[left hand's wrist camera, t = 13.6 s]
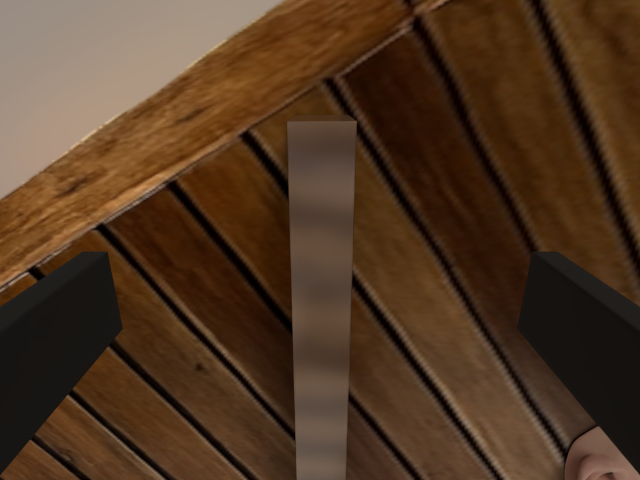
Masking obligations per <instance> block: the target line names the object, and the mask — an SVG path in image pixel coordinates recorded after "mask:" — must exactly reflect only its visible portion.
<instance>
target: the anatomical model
mask: <svg viewBox="0 0 640 480" xmlns="http://www.w3.org/2000/svg"><path fill="white" fill-rule="evenodd" d="M564 476H565V480H640V475H639V474H638V472H637V471H636V470H635V469H634V468H633V466H632V465H631V464H630V463H629V462H628V460H627V459H626V458H625V457H624V456H623V454H622V453H621V452H620V451H619V450H618V448H617V447H616V446H615V445H614V444H613V443H612V441H611V440H610V439H609V438H608V437H607V435H606V434H605V433H604V432H603V431H602V429H601V428H600V427H599V426H597V427H595V428H593V429H592V430H590V431H588V432H587V433H585V434H584V435H582V436H580V437H579V438H578V439H577V440H576V441H575V442H574V443H573V444H572V446H571V448H570V451H569V453H568V457H567V460H566V465H565V473H564Z"/></svg>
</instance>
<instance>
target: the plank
mask: <svg viewBox="0 0 640 480" xmlns="http://www.w3.org/2000/svg"><path fill="white" fill-rule="evenodd" d="M356 133H357V121H355V120H354V119H353V118H351V117H350V116H349V115H294V116H293V117H292V118H290V119H289V120H288V121H287V148H288V185H289V221H290V257H291V294H292V330H293V367H294V403H295V439H296V476H297V480H346V456H347V423H348V391H349V359H350V327H351V294H352V262H353V230H354V197H355V165H356Z"/></svg>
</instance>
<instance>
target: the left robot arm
mask: <svg viewBox="0 0 640 480" xmlns="http://www.w3.org/2000/svg"><path fill="white" fill-rule="evenodd" d="M122 329H123V328H122V323H121V318H120V313H119V308H118V303H117V298H116V293H115V288H114V283H113V277H112V272H111V267H110V262H109V257H108V252H82V253H80V254H79V255H77V256H76V257H74V258H73V259H71V260H70V261H68V262H67V263H65V264H64V265H62V266H61V267H59V268H58V269H56V270H55V271H53V272H52V273H50V274H49V275H47V276H46V277H44V278H43V279H41V280H40V281H38V282H37V283H35V284H34V285H32V286H31V287H29V288H28V289H26V290H25V291H23V292H22V293H20V294H19V295H17V296H16V297H14V298H13V299H11V300H10V301H8V302H7V303H5V304H4V305H2V306H1V307H0V475H1V474H2V472H3V471H4V470H5V469H6V468H7V466H8V465H9V464H10V463H11V462H12V460H13V459H14V458H15V457H16V456H17V454H18V453H19V452H20V451H21V450H22V448H23V447H24V446H25V445H26V444H27V443H28V441H29V440H30V439H31V438H32V437H33V435H34V434H35V433H36V432H37V431H38V429H39V428H40V427H41V426H42V425H43V423H44V422H45V421H46V420H47V419H48V417H49V416H50V415H51V414H52V413H53V411H54V410H55V409H56V408H57V407H58V405H59V404H60V403H61V402H62V401H63V399H64V398H65V397H66V396H67V395H68V393H69V392H70V391H71V390H72V389H73V388H74V386H75V385H76V384H77V383H78V382H79V380H80V379H81V378H82V377H83V376H84V374H85V373H86V372H87V371H88V370H89V368H90V367H91V366H92V365H93V364H94V362H95V361H96V360H97V359H98V358H99V356H100V355H101V354H102V353H103V352H104V350H105V349H106V348H107V347H108V346H109V344H110V343H111V342H112V341H113V340H114V338H115V337H116V336H117V335H118V334H119V333H120V331H121V330H122ZM517 329H518V330H519V331H520V333H521V334H522V335H523V336H524V337H525V338H526V340H527V341H528V342H529V343H530V344H531V346H532V347H533V348H534V349H535V350H536V352H537V353H538V354H539V355H540V356H541V358H542V359H543V360H544V361H545V362H546V364H547V365H548V366H549V367H550V368H551V370H552V371H553V372H554V373H555V374H556V376H557V377H558V378H559V379H560V380H561V382H562V383H563V384H564V385H565V386H566V388H567V389H568V390H569V391H570V392H571V393H572V395H573V396H574V397H575V398H576V399H577V401H578V402H579V403H580V404H581V405H582V407H583V408H584V409H585V410H586V411H587V413H588V414H589V415H590V416H591V417H592V419H593V420H594V421H595V422H596V423H597V425H598V426H599V427H600V428H601V429H602V431H603V432H604V433H605V434H606V435H607V437H608V438H609V439H610V440H611V441H612V443H613V444H614V445H615V446H616V447H617V448H618V450H619V451H620V452H621V453H622V454H623V456H624V457H625V458H626V459H627V460H628V462H629V463H630V464H631V465H632V466H633V468H634V469H635V470H636V471H637V472H638V474H639V475H640V307H639V306H638V305H636V304H635V303H633V302H632V301H630V300H629V299H627V298H626V297H624V296H623V295H621V294H620V293H618V292H617V291H615V290H614V289H612V288H611V287H609V286H608V285H606V284H605V283H603V282H602V281H600V280H599V279H597V278H596V277H594V276H593V275H591V274H590V273H588V272H587V271H585V270H584V269H582V268H581V267H579V266H578V265H576V264H575V263H573V262H572V261H570V260H569V259H567V258H566V257H564V256H563V255H561V254H560V253H558V252H532V257H531V262H530V267H529V272H528V277H527V283H526V288H525V293H524V298H523V303H522V308H521V313H520V318H519V323H518V328H517Z"/></svg>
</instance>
